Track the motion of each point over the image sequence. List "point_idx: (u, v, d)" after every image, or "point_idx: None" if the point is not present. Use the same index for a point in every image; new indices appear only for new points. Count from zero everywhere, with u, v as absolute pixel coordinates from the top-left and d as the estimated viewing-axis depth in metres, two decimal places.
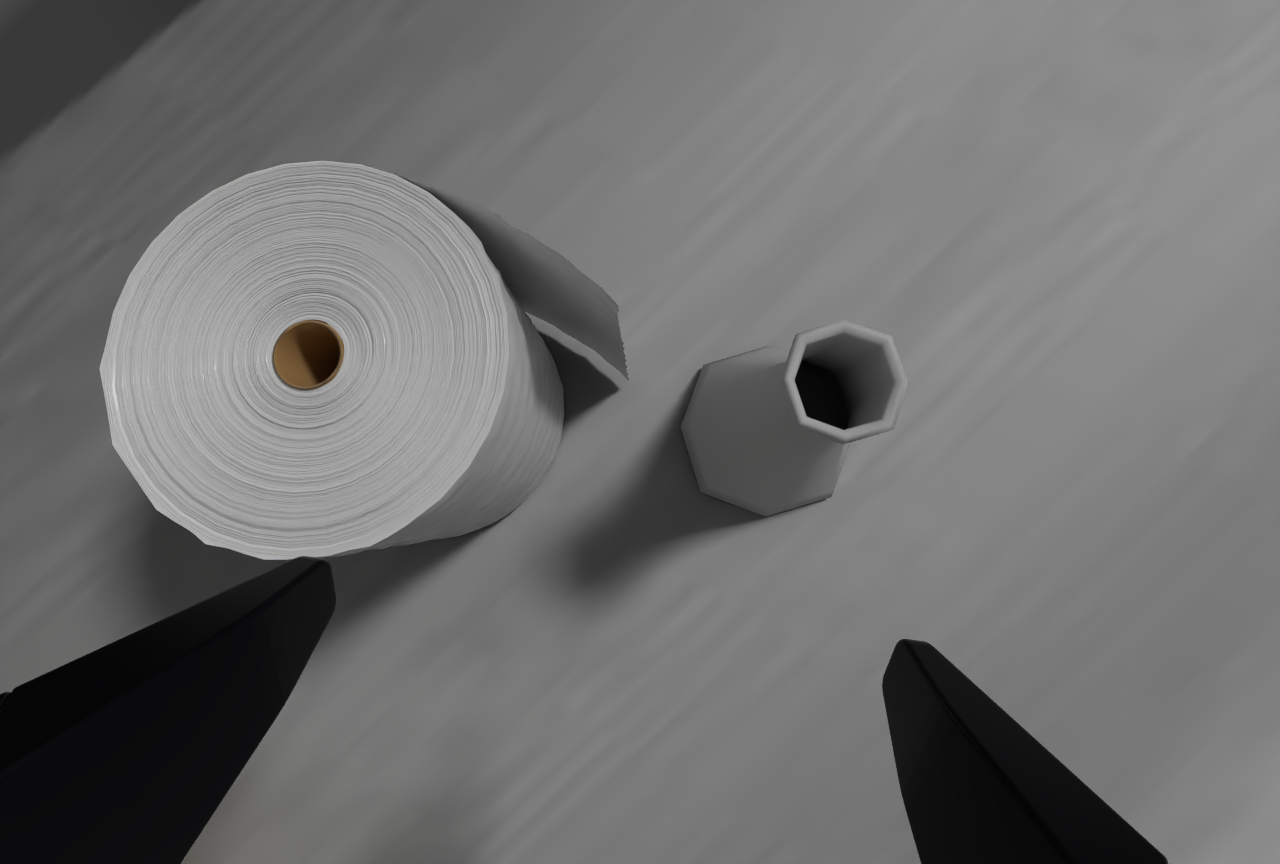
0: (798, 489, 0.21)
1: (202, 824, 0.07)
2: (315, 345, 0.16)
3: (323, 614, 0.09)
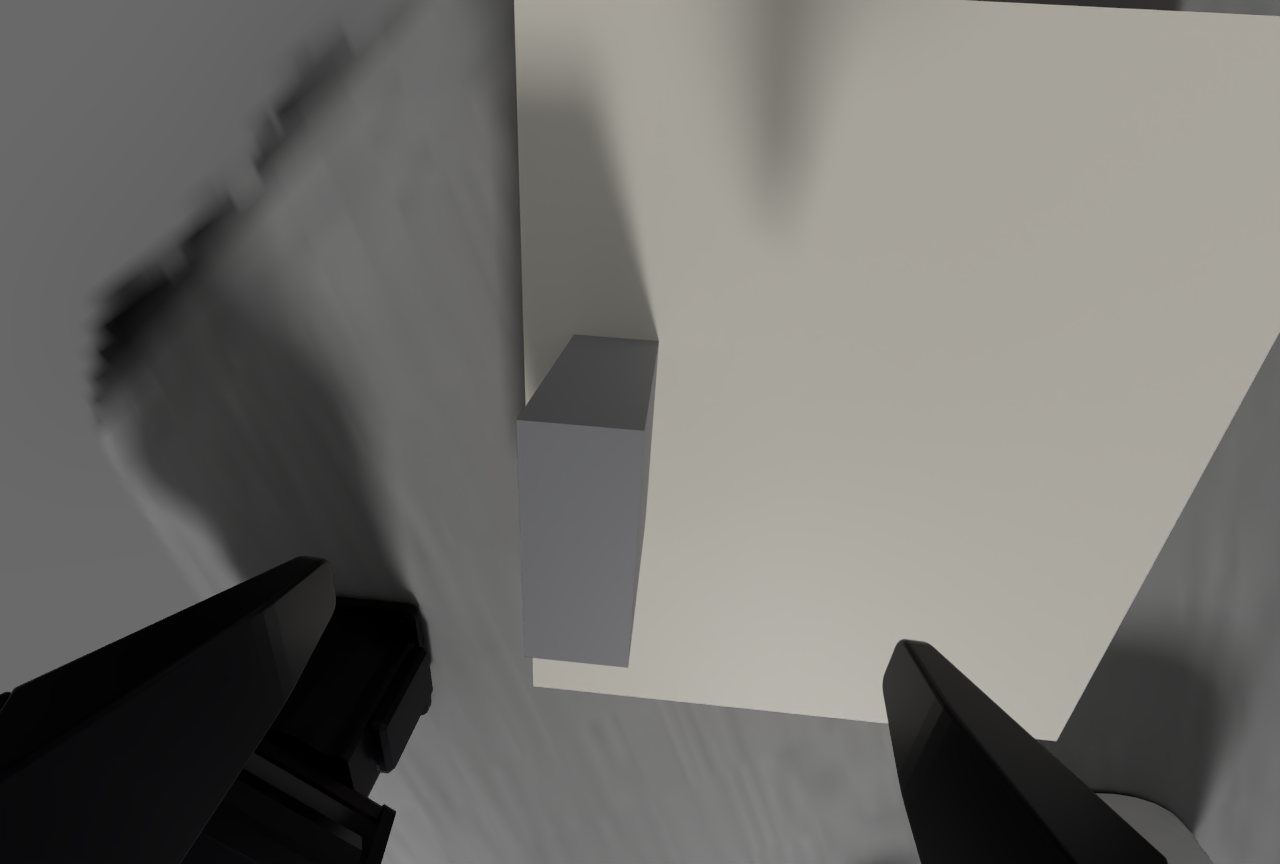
0: None
1: (201, 824, 0.07)
2: None
3: (323, 614, 0.09)
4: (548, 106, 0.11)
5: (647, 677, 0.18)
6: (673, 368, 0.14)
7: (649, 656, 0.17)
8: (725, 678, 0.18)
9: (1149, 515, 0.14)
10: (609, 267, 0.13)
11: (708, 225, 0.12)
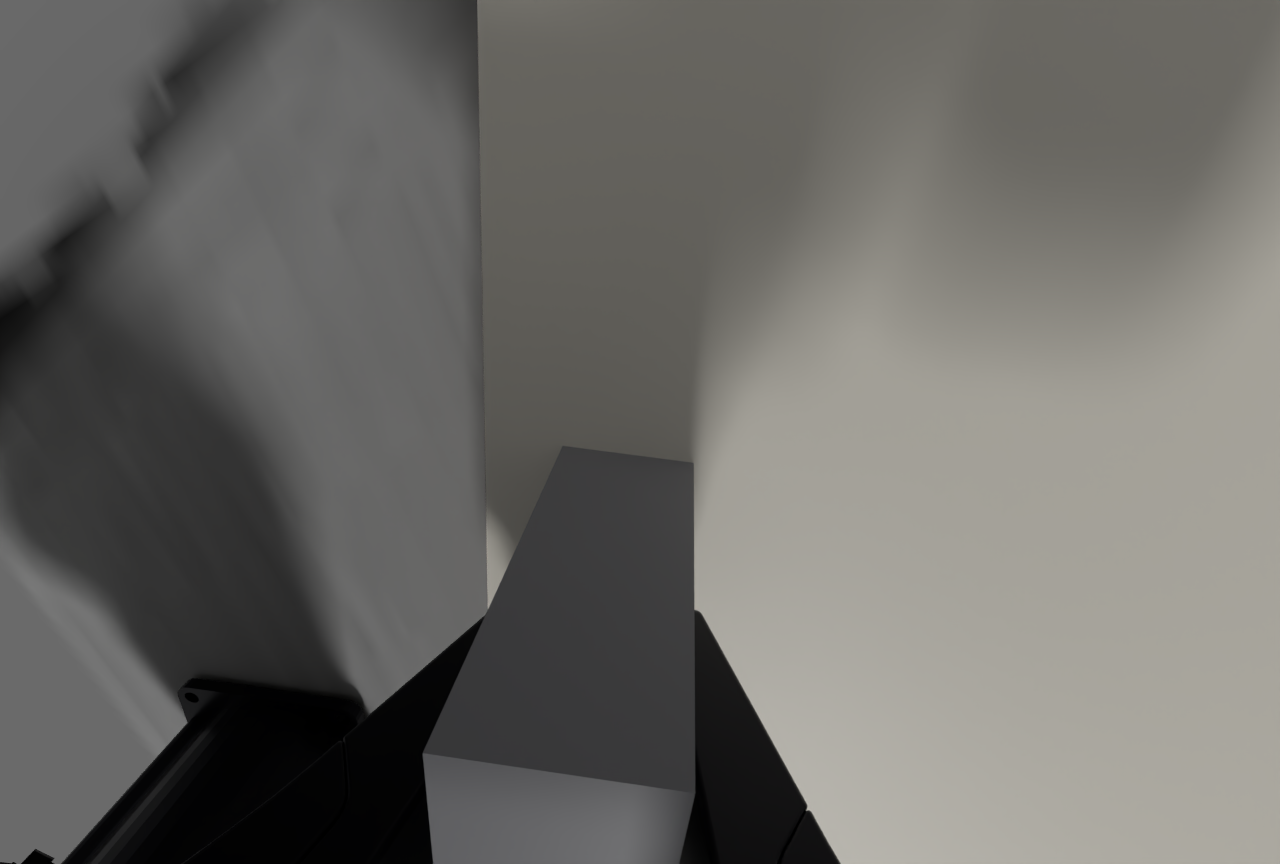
0: None
1: None
2: None
3: None
4: (532, 88, 0.07)
5: None
6: (712, 502, 0.09)
7: None
8: None
9: None
10: (622, 352, 0.08)
11: (788, 297, 0.07)
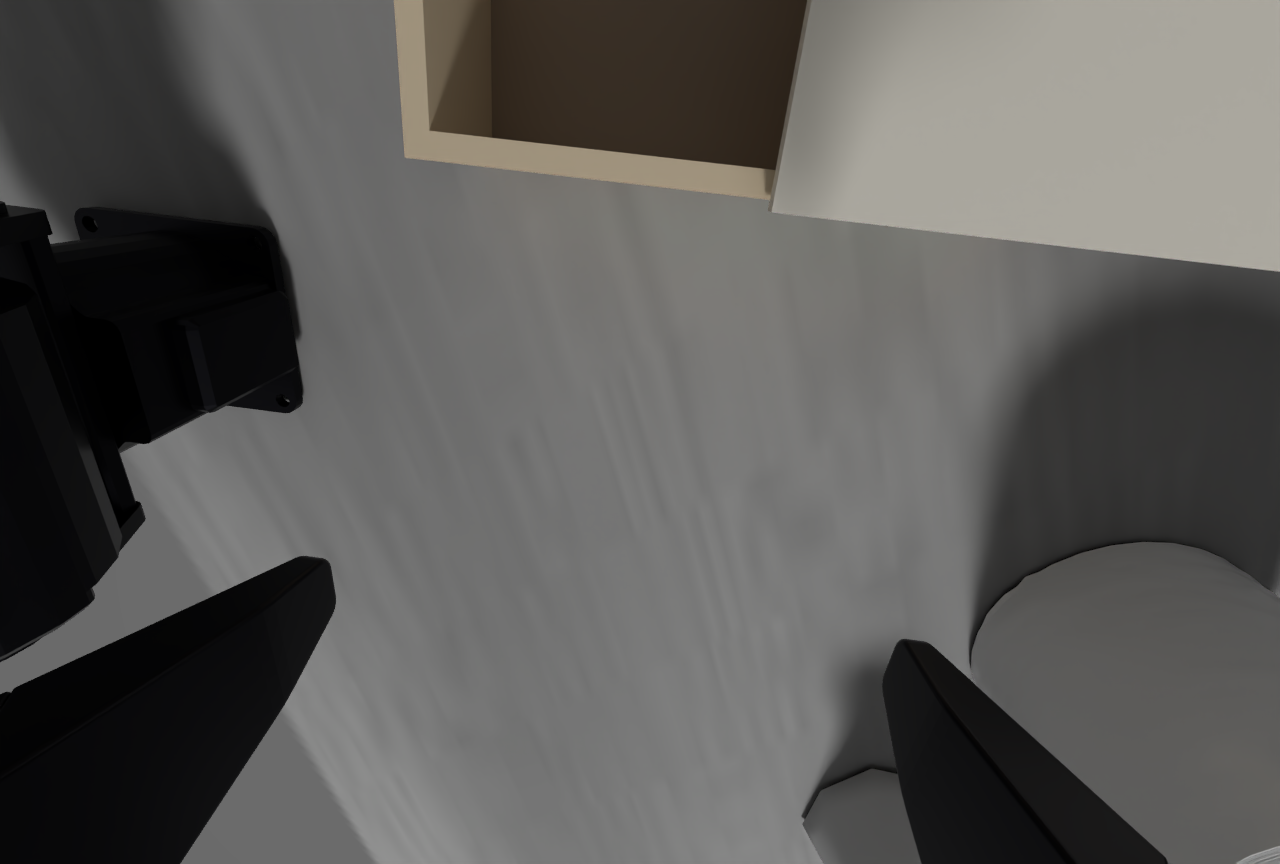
0: (840, 858, 0.27)
1: (201, 823, 0.07)
2: None
3: (323, 614, 0.09)
4: None
5: (961, 185, 0.11)
6: None
7: (977, 135, 0.11)
8: (1089, 182, 0.11)
9: None
10: None
11: None
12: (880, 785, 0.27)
